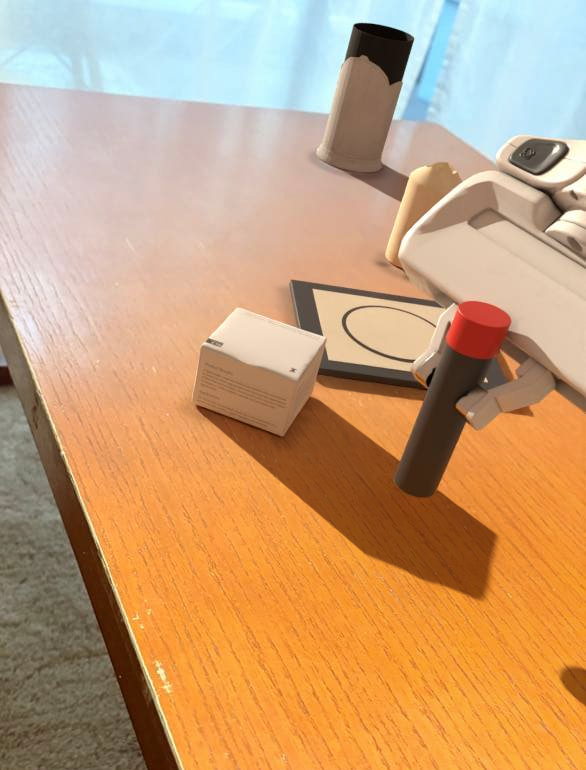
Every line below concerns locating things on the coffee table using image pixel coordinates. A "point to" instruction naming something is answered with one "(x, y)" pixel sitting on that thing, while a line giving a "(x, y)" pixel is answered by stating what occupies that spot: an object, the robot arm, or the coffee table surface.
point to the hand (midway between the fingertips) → (441, 399)
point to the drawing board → (371, 332)
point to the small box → (258, 370)
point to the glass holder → (365, 97)
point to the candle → (420, 201)
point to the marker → (450, 395)
